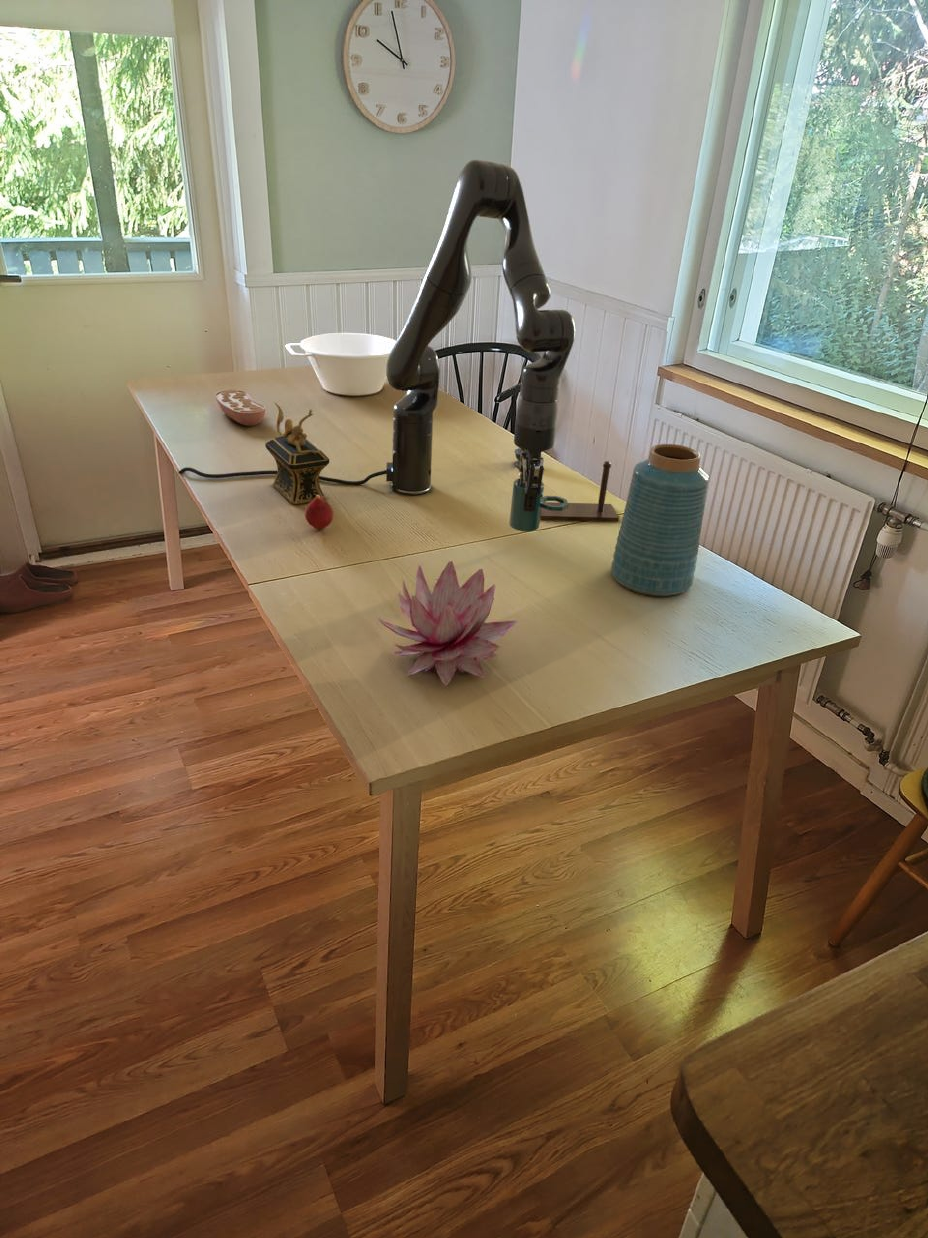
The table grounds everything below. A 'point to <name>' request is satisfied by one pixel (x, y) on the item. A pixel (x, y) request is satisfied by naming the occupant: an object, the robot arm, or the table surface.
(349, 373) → the pot
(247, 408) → the anatomical model
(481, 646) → the decorative flower
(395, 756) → the table surface
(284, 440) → the decorative box
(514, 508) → the mug
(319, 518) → the onion
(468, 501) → the table surface
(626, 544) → the vase
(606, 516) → the mug stand
